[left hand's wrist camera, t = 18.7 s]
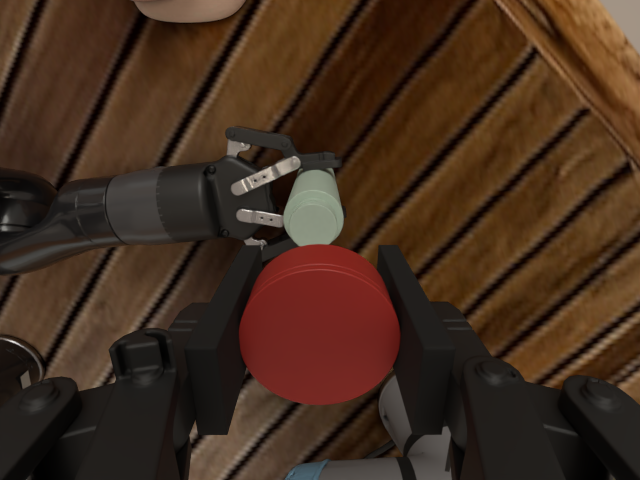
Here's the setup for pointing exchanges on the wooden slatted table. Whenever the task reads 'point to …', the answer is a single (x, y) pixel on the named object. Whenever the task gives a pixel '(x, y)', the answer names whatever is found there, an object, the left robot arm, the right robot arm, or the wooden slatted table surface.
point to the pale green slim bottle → (314, 208)
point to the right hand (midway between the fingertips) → (342, 186)
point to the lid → (319, 326)
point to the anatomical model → (188, 9)
